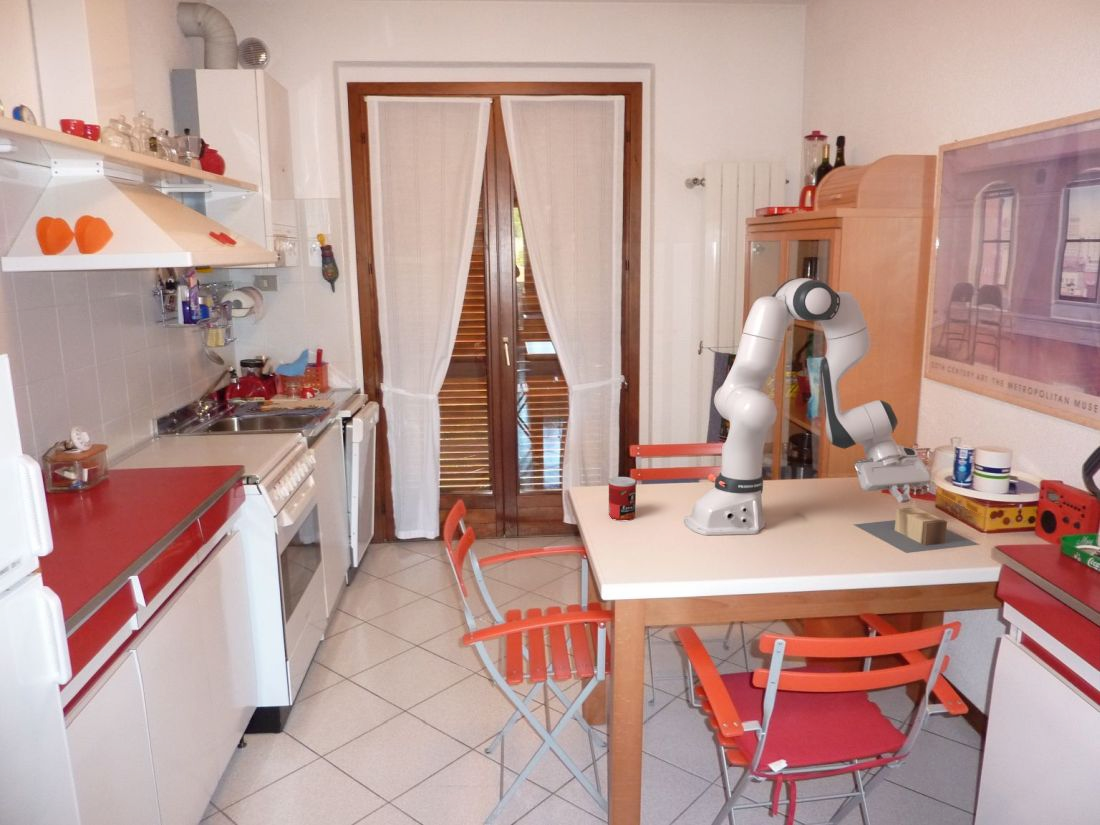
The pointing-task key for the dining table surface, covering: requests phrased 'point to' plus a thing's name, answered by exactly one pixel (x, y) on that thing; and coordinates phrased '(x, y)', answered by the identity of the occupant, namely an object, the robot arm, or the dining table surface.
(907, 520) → the maple block
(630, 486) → the canned food
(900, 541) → the rubber mat
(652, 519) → the dining table surface
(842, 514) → the dining table surface
